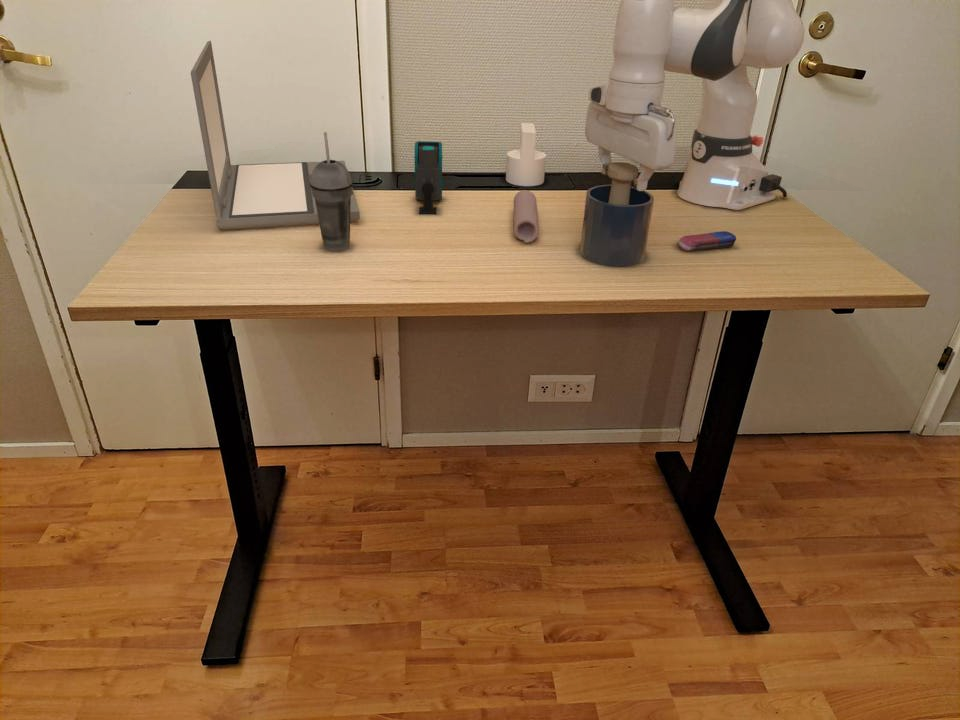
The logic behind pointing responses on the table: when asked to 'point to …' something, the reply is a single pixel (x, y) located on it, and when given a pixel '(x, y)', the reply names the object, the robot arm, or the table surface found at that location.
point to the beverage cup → (332, 201)
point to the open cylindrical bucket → (615, 227)
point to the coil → (525, 216)
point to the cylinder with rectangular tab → (526, 160)
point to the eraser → (707, 241)
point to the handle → (621, 182)
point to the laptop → (250, 170)
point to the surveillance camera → (428, 174)
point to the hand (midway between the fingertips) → (622, 181)
